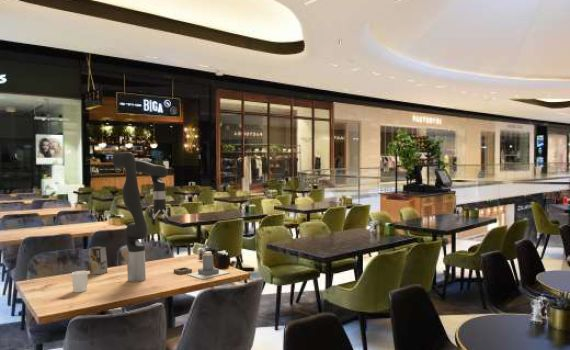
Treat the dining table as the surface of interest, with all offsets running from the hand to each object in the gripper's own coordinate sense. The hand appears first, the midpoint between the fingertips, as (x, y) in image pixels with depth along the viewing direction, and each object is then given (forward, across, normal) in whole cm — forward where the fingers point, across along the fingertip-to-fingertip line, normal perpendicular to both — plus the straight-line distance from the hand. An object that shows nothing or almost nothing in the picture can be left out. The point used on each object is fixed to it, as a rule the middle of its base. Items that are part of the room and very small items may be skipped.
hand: (159, 224), depth 292 cm
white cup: (+31, -52, -6) cm, 60 cm away
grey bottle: (+29, +16, -28) cm, 43 cm away
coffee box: (+30, -27, +28) cm, 50 cm away
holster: (+30, +8, -12) cm, 33 cm away
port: (+30, +16, -28) cm, 44 cm away
